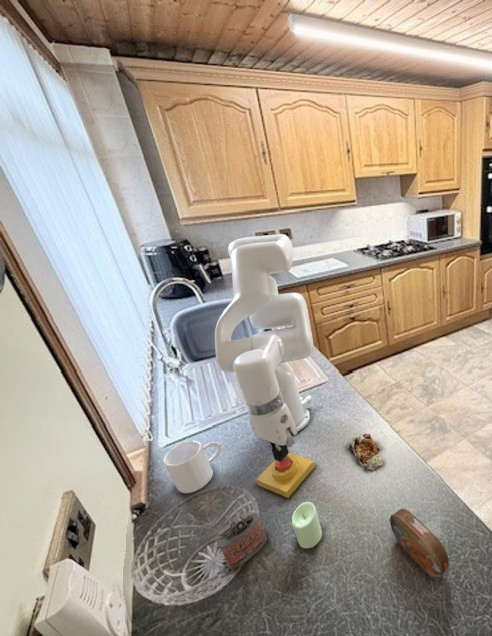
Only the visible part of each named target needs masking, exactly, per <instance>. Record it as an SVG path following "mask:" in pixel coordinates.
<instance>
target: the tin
mask: <svg viewBox="0 0 492 636" xmlns="http://www.w3.org/2000/svg"><path fill="white" fill-rule="evenodd" d="M389 525H390V528H391V530H392V533H393V535H394V537H395V539H396V541H397V543H399V545H400V546H401V547H402V549H404V550H405V552H406V553H408V555H409V556H410V557H411V558H412V559H413V560H414V561H415V562H416V563H417V564H418V565H419V566H420V568H421V569H422V570H423V571H424V572H425V573H426V574H427V575H428V576H429V577H430V578H433V579H434V580H440V579H441V578H442V577H443V575H444V574H445V573H447V571H448V570H449V567H450V566H449V565H450V560H449V556H448V553H447V550H446V549H445V547H444V545H443V543H442V542H441V541H440V540H439V538H438V537H437V536H436V535H435V534H434V533H433V532H432V531H431V530H430V529H429V528H428V527H427V526H426V525H425V524H424V523H423V522H422V521H420V520H419V519H418V518H417V517H416V516H415V515H414V514H413V513H412V512H411V511H409V510H408V509H406V508H400V509H398V510H397V511H396V512H395V513H393V514H391V515H390V517H389Z"/></svg>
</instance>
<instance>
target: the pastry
mask: <svg viewBox="0 0 492 636" xmlns="http://www.w3.org/2000/svg"><path fill="white" fill-rule="evenodd" d="M351 442H352V443H351V444H348V446H347V449H348V450H349V453H351V452H353V455H354V456H355V457H356V458H357V459H358V463H359V464H360V465H361V466H363V467H364V469H367V470H373V471H374V470H375V469H376V468H378V467H379V466H383V464H384V463H383V461H382V458H381V456H380V455H379V450H381V447H379V446H378V444H377V443H376V442H375V441H374V439H373V438H372V436H371V434H370V433H364V434H362V433H361V434H360V435H359V436H356V437H352V441H351Z"/></svg>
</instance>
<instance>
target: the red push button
mask: <svg viewBox="0 0 492 636" xmlns="http://www.w3.org/2000/svg"><path fill="white" fill-rule="evenodd" d="M275 465H276V468H277V470H278V471H279V472H283V471H286V470H288V469H289V468H290V467H291V465H292V463H291V460H290V457H289V456H286V457H285V458H284V459H283V460H282V461H281V462H279V461H278V460H277V461H276V462H275Z"/></svg>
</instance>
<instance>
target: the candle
mask: <svg viewBox="0 0 492 636" xmlns="http://www.w3.org/2000/svg"><path fill="white" fill-rule="evenodd" d="M291 524H292V527H293V530H294V533H295V536H296V540H297V542H298V544H299V546H300V547H301V548H303V549H311V548H313V547H316V545H318V543H319V542H320V541H321V540H322V536H323V530H322V526H321V522H320V519H319V516H318V512H317V509H316V506H315V504H314V503H312V502H310V501H306V502H305V501H304V502H302V503H301V504H299V505H298V506H297V507H296V509H295V510H294V511H293V513H292V517H291Z"/></svg>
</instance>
